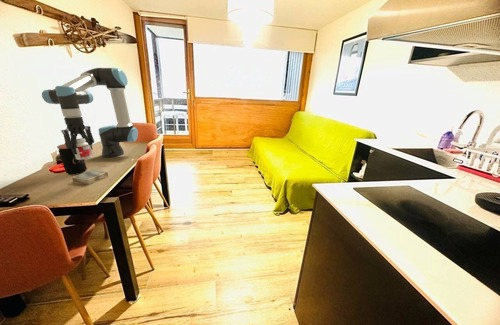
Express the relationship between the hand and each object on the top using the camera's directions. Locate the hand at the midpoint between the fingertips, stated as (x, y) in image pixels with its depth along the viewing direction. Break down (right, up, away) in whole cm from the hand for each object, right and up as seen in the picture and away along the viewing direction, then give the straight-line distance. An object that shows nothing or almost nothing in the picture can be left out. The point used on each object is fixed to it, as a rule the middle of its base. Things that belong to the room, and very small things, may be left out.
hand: (84, 157), depth 115 cm
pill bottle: (0, -1, 0) cm, 1 cm away
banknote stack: (0, -13, +5) cm, 14 cm away
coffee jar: (-18, -9, +15) cm, 25 cm away
